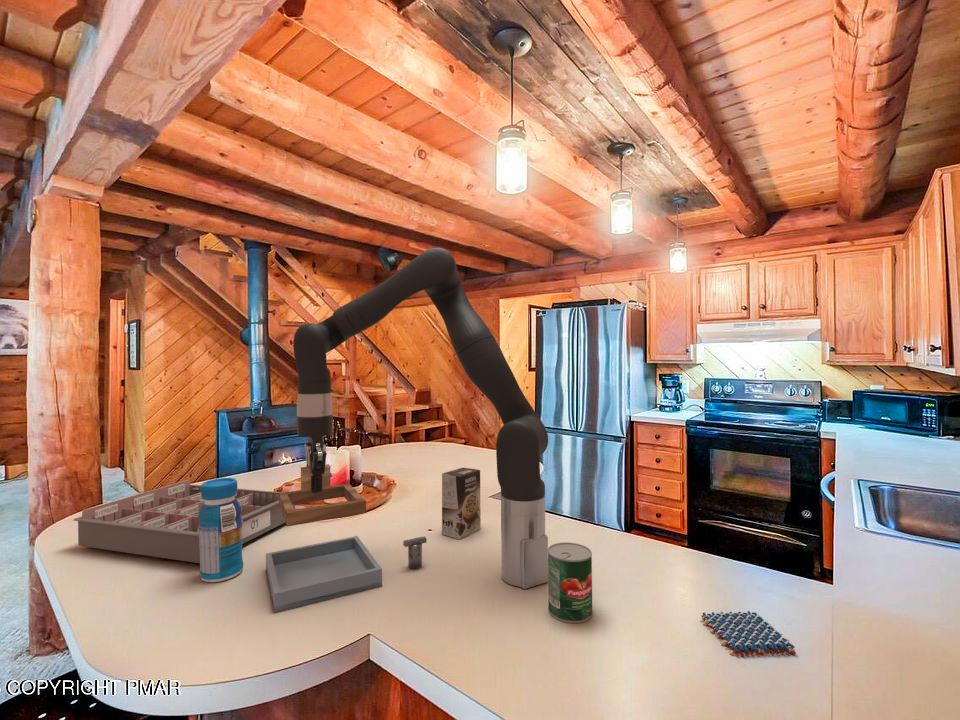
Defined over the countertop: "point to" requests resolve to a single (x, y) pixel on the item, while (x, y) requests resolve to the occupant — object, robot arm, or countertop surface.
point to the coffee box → (461, 502)
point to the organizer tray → (169, 521)
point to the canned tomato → (570, 582)
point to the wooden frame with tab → (324, 512)
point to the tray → (320, 572)
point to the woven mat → (746, 634)
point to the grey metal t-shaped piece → (415, 552)
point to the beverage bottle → (220, 531)
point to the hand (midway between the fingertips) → (315, 490)
